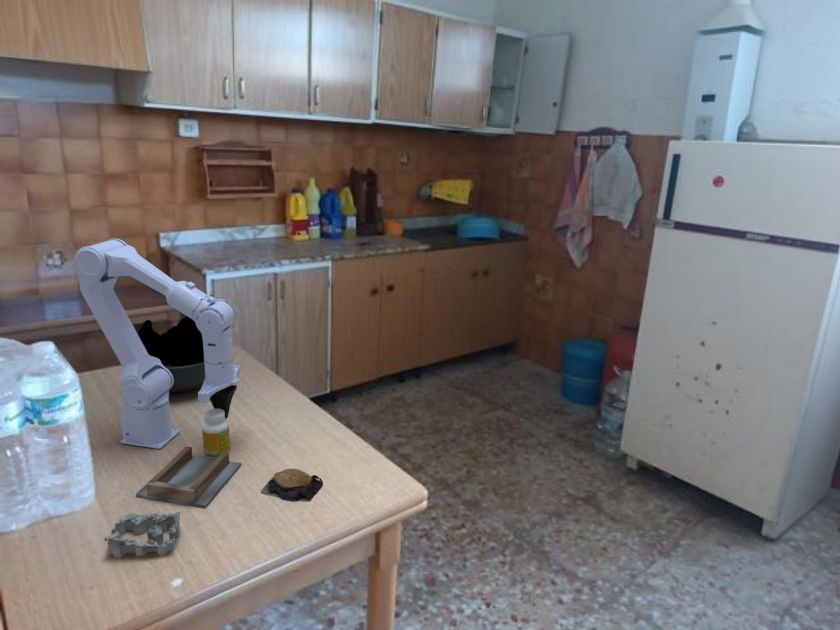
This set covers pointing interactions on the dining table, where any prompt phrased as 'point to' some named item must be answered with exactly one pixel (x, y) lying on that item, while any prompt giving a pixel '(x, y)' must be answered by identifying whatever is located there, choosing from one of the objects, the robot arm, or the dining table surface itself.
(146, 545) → the egg carton
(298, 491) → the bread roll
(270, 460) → the dining table surface
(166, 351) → the bowl of black rocks
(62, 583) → the dining table surface
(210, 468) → the cradle
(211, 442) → the supplement bottle
